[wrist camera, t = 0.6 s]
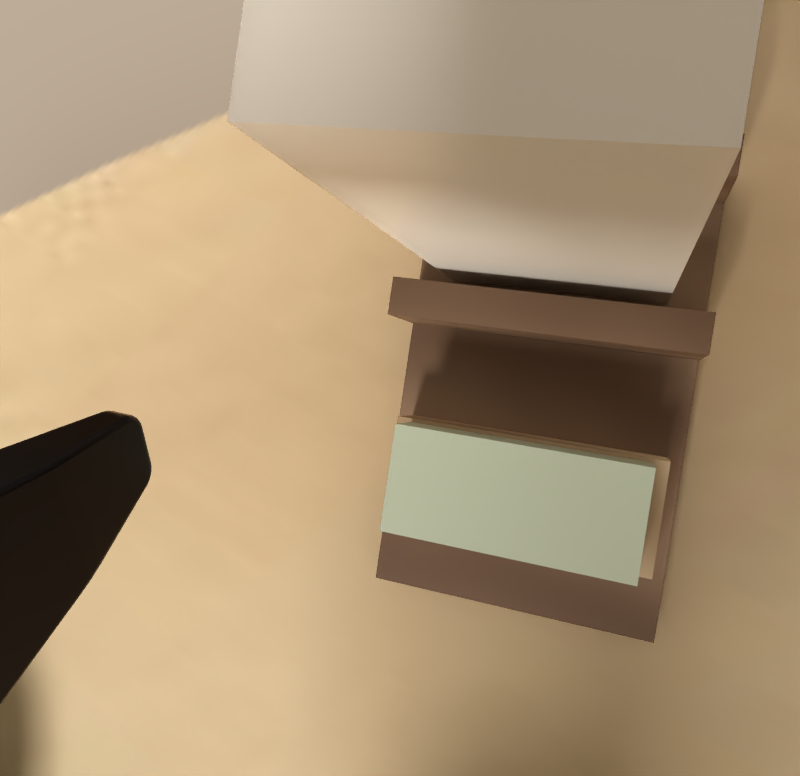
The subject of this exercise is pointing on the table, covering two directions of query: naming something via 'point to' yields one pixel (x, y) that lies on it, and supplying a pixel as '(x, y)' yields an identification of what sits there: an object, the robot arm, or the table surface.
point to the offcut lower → (659, 461)
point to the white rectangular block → (510, 127)
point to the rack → (555, 411)
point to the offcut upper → (519, 500)
